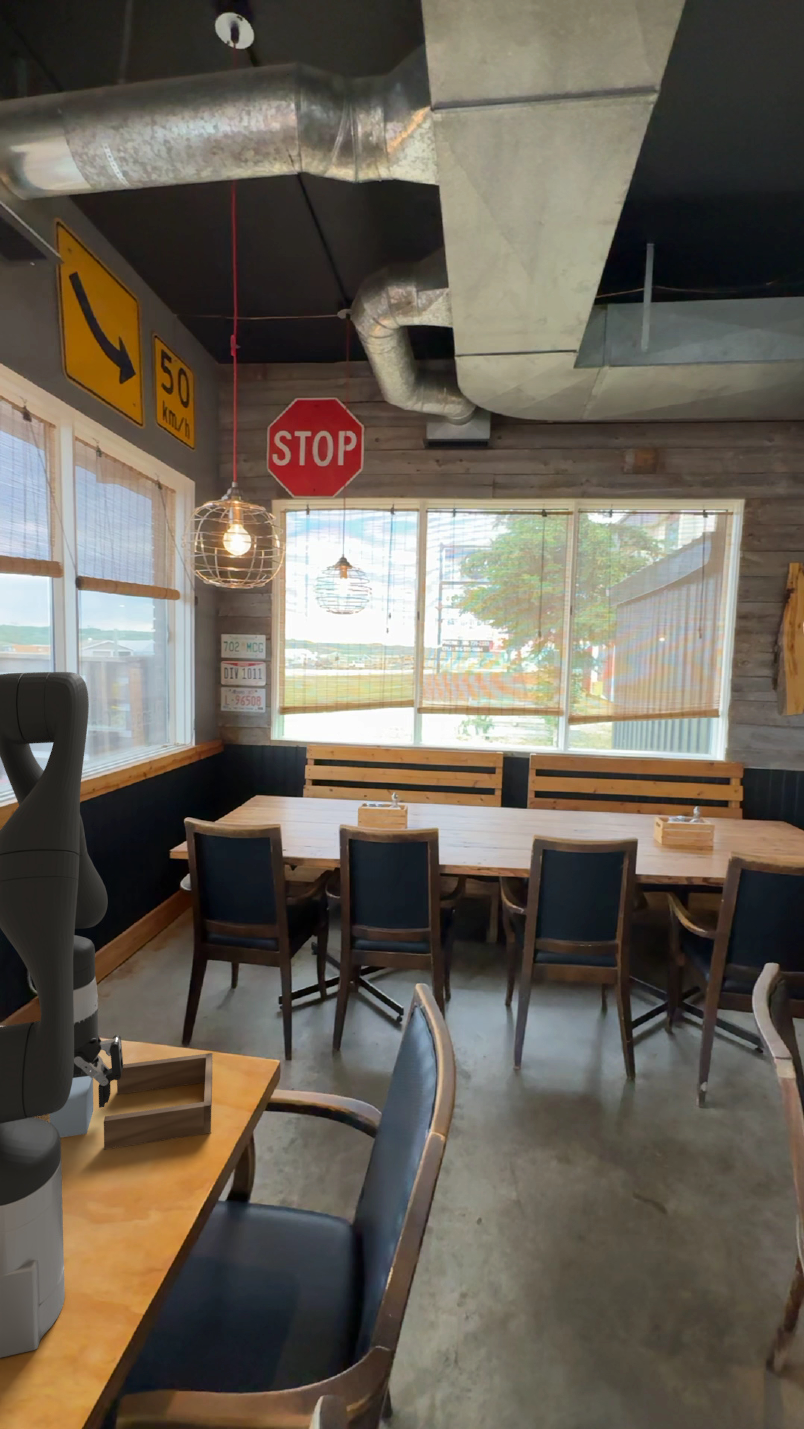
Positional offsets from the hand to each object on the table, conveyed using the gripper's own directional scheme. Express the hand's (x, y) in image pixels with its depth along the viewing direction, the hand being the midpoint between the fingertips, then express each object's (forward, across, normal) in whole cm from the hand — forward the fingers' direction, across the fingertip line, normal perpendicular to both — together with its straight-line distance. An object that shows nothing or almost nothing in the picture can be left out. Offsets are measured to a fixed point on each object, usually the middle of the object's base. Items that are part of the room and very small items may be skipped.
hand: (72, 1108), depth 100 cm
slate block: (+3, 0, 0) cm, 3 cm away
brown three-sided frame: (+3, +13, 0) cm, 13 cm away
